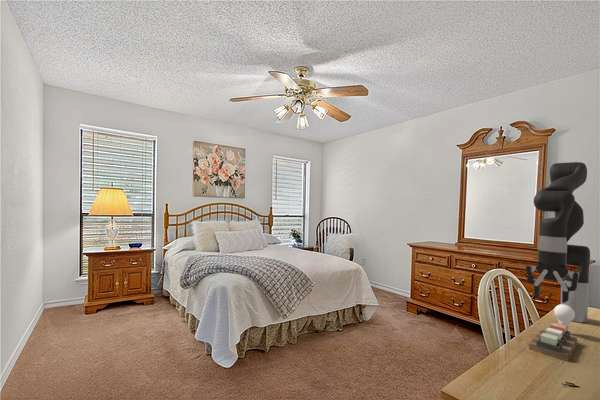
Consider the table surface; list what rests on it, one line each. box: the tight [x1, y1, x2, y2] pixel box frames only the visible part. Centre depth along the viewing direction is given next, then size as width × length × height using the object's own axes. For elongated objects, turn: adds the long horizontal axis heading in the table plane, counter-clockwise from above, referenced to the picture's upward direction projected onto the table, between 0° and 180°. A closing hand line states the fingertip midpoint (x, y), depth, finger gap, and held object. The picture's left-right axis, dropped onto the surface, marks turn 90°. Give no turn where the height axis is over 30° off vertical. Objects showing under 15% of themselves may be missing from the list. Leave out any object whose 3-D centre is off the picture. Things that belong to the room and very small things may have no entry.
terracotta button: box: [549, 322, 567, 334], centre depth 113 cm, size 4×4×2 cm
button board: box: [528, 326, 578, 362], centre depth 107 cm, size 22×10×4 cm, turn 131°
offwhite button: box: [545, 326, 563, 340], centre depth 107 cm, size 4×4×2 cm
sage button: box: [541, 333, 558, 346], centre depth 102 cm, size 4×4×2 cm
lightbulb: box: [553, 304, 575, 331], centre depth 121 cm, size 6×6×11 cm
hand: (550, 299), depth 102 cm, fingers open, 6 cm apart
